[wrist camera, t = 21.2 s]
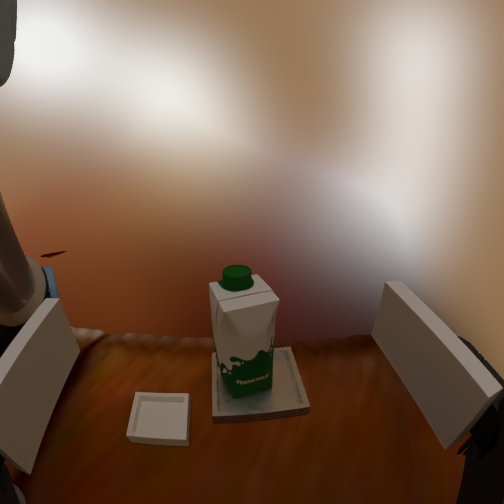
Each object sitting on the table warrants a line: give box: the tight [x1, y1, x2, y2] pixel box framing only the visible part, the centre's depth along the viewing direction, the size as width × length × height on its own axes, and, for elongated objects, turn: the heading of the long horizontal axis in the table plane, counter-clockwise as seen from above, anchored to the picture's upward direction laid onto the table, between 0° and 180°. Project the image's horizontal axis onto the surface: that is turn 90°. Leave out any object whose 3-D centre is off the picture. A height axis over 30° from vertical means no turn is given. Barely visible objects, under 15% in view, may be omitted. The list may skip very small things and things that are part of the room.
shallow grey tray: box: [212, 347, 310, 423], centre depth 44 cm, size 15×15×2 cm
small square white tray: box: [126, 392, 191, 446], centre depth 36 cm, size 9×9×2 cm
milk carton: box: [209, 265, 280, 399], centre depth 41 cm, size 9×9×20 cm
